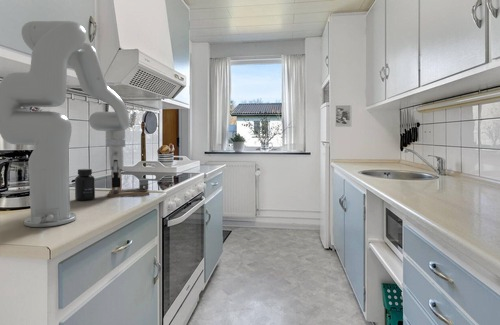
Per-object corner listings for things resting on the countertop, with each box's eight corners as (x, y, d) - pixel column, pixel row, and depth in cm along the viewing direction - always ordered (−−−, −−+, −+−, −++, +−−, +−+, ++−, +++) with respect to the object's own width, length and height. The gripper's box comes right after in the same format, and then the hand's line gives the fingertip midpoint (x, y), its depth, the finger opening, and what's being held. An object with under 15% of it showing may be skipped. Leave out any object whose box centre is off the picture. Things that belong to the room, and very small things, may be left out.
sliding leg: (120, 191, 124) (120, 172, 124) (111, 191, 123) (111, 172, 122) (121, 188, 130) (120, 170, 129) (112, 189, 129) (111, 170, 128)
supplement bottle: (89, 201, 114) (88, 170, 113) (71, 201, 114) (70, 170, 113) (98, 198, 121) (97, 168, 120) (81, 197, 121) (81, 168, 120)
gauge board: (149, 194, 129) (149, 180, 128) (108, 197, 123) (107, 182, 122) (148, 191, 137) (147, 178, 136) (109, 193, 131) (109, 179, 130)
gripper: (125, 143, 120) (125, 189, 121) (125, 143, 135) (126, 183, 136) (104, 143, 117) (105, 190, 118) (107, 143, 132) (108, 183, 134)
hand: (116, 185), depth 127 cm, fingers closed on sliding leg, 4 cm apart
